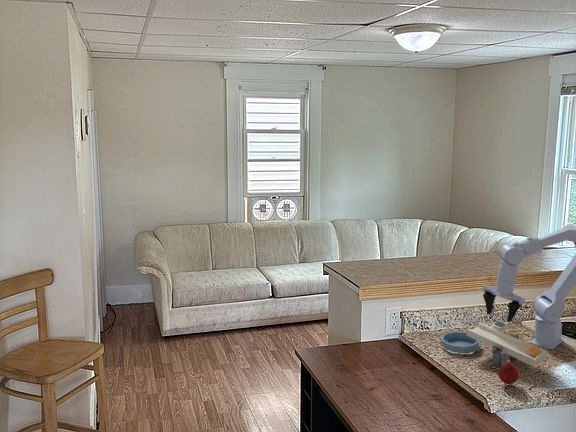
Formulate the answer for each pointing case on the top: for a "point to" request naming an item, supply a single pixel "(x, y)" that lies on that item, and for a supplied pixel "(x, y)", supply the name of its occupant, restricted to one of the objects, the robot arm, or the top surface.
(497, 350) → the stand
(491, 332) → the lever
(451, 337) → the blue bowl
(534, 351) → the ball
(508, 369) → the onion
